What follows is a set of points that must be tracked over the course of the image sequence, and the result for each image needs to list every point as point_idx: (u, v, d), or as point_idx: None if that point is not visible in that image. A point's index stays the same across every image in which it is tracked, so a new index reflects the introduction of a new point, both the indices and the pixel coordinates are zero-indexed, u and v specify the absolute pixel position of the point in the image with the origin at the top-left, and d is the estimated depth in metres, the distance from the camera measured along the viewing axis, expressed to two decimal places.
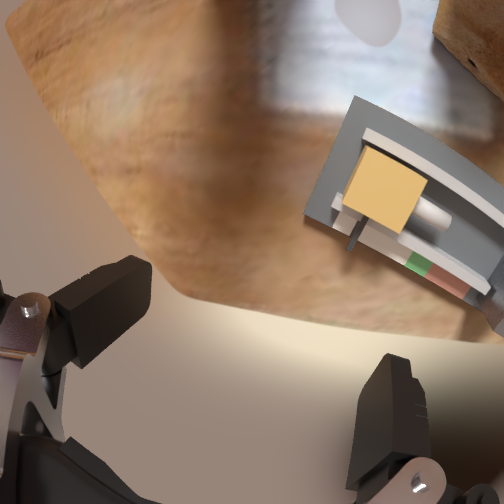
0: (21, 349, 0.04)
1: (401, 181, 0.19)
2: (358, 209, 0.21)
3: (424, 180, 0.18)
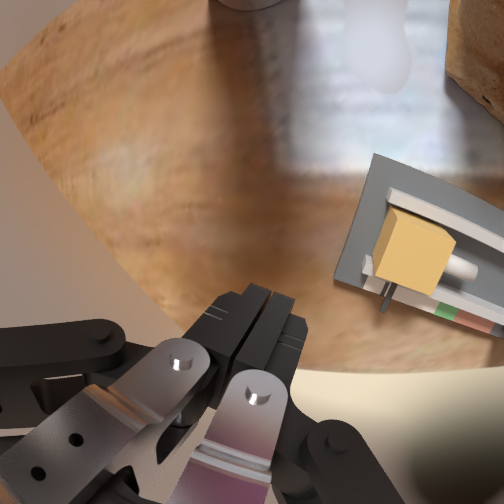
0: (147, 406, 0.05)
1: (431, 247, 0.19)
2: (391, 279, 0.20)
3: (453, 242, 0.18)
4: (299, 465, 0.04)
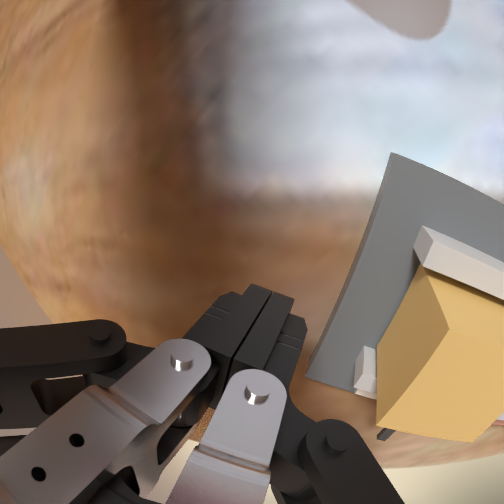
0: (148, 407, 0.04)
1: (500, 377, 0.06)
2: (407, 429, 0.08)
3: None
4: (298, 465, 0.04)
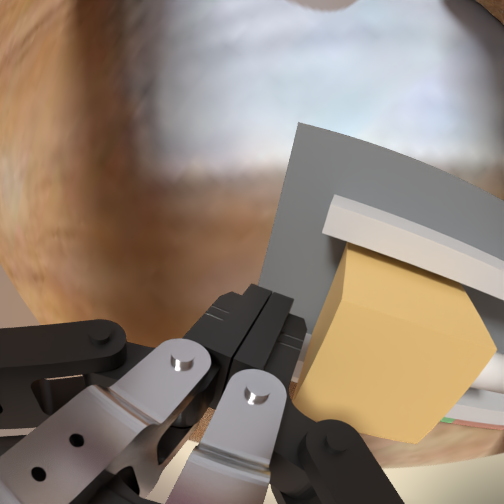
0: (147, 407, 0.04)
1: (432, 366, 0.07)
2: None
3: (489, 351, 0.06)
4: (298, 465, 0.04)
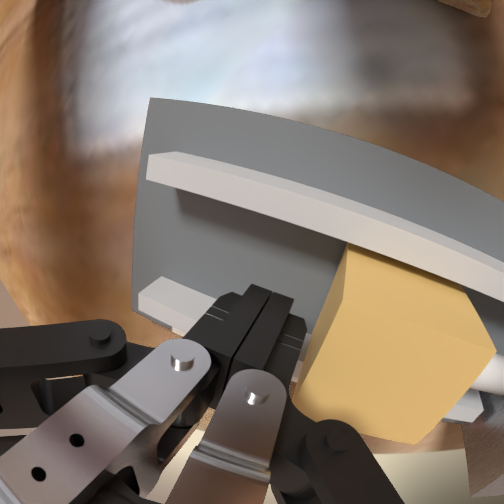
0: (147, 407, 0.04)
1: (432, 367, 0.07)
2: None
3: (489, 353, 0.06)
4: (298, 465, 0.04)
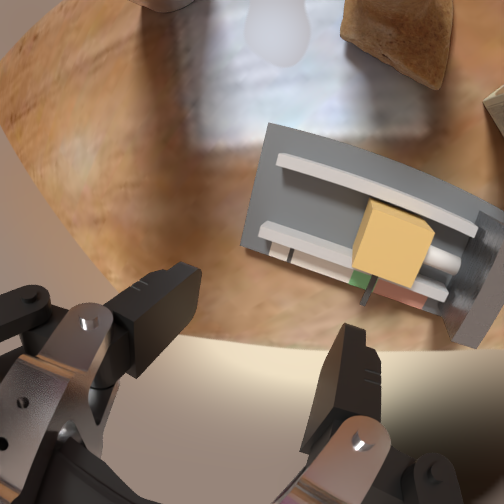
0: (71, 364, 0.05)
1: (408, 238, 0.19)
2: (368, 270, 0.21)
3: (431, 233, 0.18)
4: (402, 499, 0.04)
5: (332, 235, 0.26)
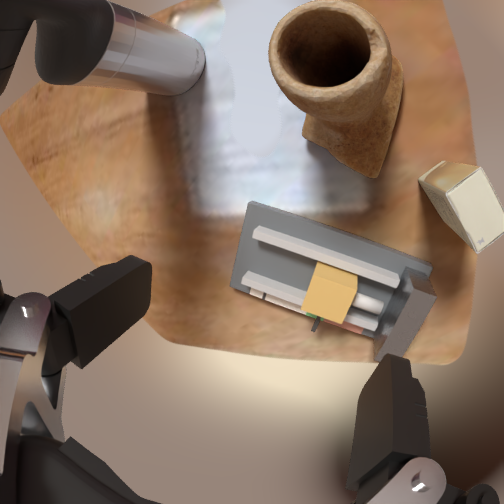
0: (21, 349, 0.04)
1: (338, 293, 0.31)
2: (311, 312, 0.33)
3: (354, 290, 0.30)
4: None
5: (293, 282, 0.38)
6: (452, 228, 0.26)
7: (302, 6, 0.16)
